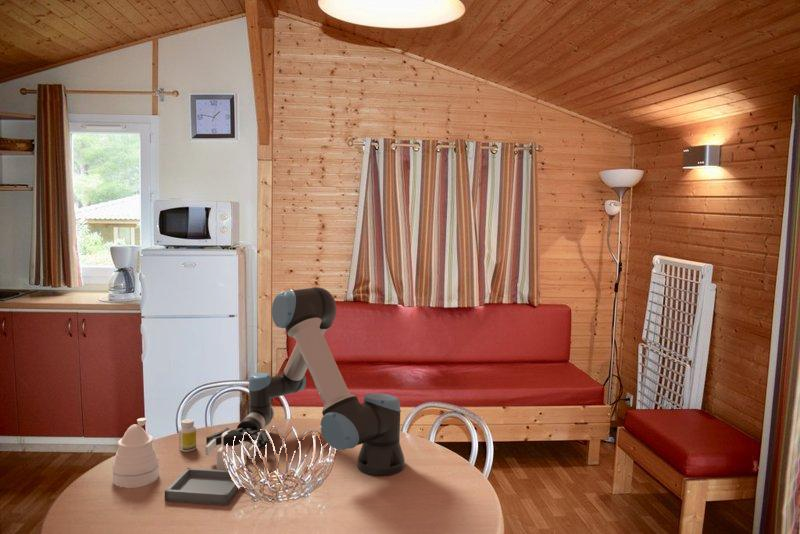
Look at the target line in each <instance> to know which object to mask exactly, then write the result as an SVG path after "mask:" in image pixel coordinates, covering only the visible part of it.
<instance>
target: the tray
mask: <svg viewBox="0 0 800 534" xmlns="http://www.w3.org/2000/svg"><path fill="white" fill-rule="evenodd" d="M238 492H239V490H238V488H237V487H236V485H235V484H234V482H233V481H232V480H231V477H230V475H229V473H228V471H227V470H217V469H212V468H211V469H210V468H195V467H194V468H193V467H187V468H186V469H185V470H184V471H183V472H182V473H181V474H180V475H178V477H177V478H176V479H175V480H174V481H173V482H172V483H170V485H169V486H168V487H167V488H166V489H165V490H164V502H169V503H170V502H172V503H187V504H198V505H199V504H202V505H218V506H228V505H229V504H230V502H231V501H232V500H233V498H234V497H235V496H236V495H237V493H238Z"/></svg>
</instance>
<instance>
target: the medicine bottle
mask: <svg viewBox="0 0 800 534" xmlns="http://www.w3.org/2000/svg"><path fill="white" fill-rule="evenodd" d="M234 436H236V438H235V441H234V451H235V453H236V455H237V456H239V457H241V444H240V442H239V440H240V441H242V438H241V432H239V431H236V430H235V429H231V430H230V429H229V431H226V432H224V433H223V434H222V435H221V439H222V444H221V447H219V448H218V449H217V451H216V470H226V468H225V465H224V462H223V458H222V450H223V448H224V447H226V444H227V443H228V445H229V448H232V446H233V440H234ZM243 444H244V446H245V448H246V449H247V444H246V443H243ZM244 460H245V462H246V463H247V453H246V454H245V453H244Z"/></svg>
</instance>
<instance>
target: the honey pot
mask: <svg viewBox="0 0 800 534" xmlns="http://www.w3.org/2000/svg"><path fill="white" fill-rule="evenodd" d="M136 422H137V424H135V423H134V424H131V425H130V426H129V427H128V428H127V430H126V431H125V432H124V435H123V436H122V437H121V438H120V439H119V440H118V441H117V446H118V448H117V451H116V452H115V457H114V461H113V462H112V467H111V468H112V484H113V483H114V484H115V485H117V486H120V487H119V488H121V487H126V488H125V489H131V488H132V489H134V488H140V487H144V486H147V485H150V484H152V483H154V482H156V480H158V479H159V477H160V471H159V470H160V465H159V461H160V459H159V456H158V455H157V452H156V451H155V450H156V449H155V447H154V445H153V442H154V441H155V440H154V437H153V436H152V435H150V434H147V432H146V431H145V429H144V428H143V427H142V426H144V425H145V424H147V423H146V422H147V418H146V417H140V418H137V419H136ZM114 484H113V485H114ZM115 485H114V486H115ZM117 486H116V487H117Z"/></svg>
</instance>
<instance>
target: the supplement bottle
mask: <svg viewBox="0 0 800 534" xmlns="http://www.w3.org/2000/svg"><path fill="white" fill-rule="evenodd" d="M180 422H181V423H180V426H181V427H179V429H178V432H179V433H178V434H179V436H178V437H179V438H178V439H179V440H178V443H179V451H180V452H185V453H189V452H192V451H196V449H197V427H196V426H195V420H194V419H192V418H186V419H182V420H181V421H180Z"/></svg>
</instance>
